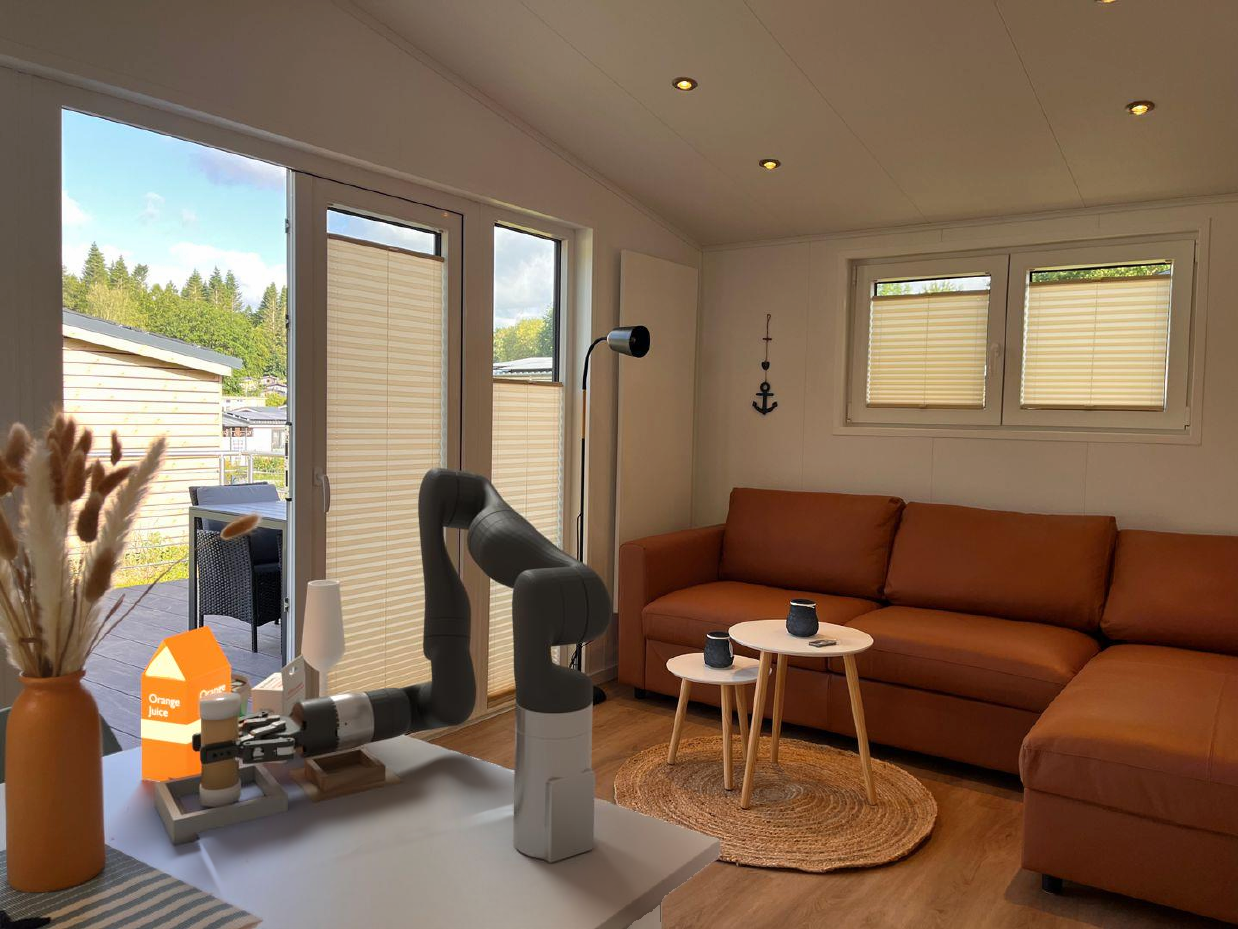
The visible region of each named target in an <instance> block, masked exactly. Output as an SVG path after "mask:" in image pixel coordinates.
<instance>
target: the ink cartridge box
mask: <svg viewBox="0 0 1238 929" xmlns="http://www.w3.org/2000/svg"><path fill="white" fill-rule="evenodd" d="M293 668H296V670H295V671H294V672H291V671H292V670H293ZM305 669H306V668H305V659H304V658H303V655H302V654H300V655H299V656H298V657H296V658H293V660H291V661H290V662H288V663H287V664H286V665H285V666H283V667H282V668H281V669H280V670H281V671H280V672H274V673H272V674H271V675H269V676H268V677H267V678H265V679H264V680H262V681H261V682H260V683H259V684H257V685H255V686H254V687H252V689H251V697H250V698H251V699H250V701H251V705H250V706H251V714H253V713H257V712H261V711H268V716H272V715H280V716H289V715H290V714H291V712H292V708H293V706H294V704H295V703H296V702H298V701H301V700H306V670H305ZM260 750H263V749H260ZM294 754H296V751H295V749H294ZM287 762H288V760H284V761H274V762H263V763H262V764H285V763H287Z"/></svg>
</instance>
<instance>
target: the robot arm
mask: <svg viewBox="0 0 1238 929" xmlns="http://www.w3.org/2000/svg"><path fill="white" fill-rule="evenodd" d="M417 502H418V503H417V512H418V515H417V516H418V527H419V540H420V542H419V544H420V554H421V555H420V556H421V562H422V572H423V574H422V575H423V583H424V586H423V587H424V616H423V639H422V649H423V650H422V651H423V655H424V657H425V658H426V659H427V661H430V666H431V667H430V669H431V671H430V672H431V680H429V681H425V682H422V683H416V684H413V685H408V686H407V685H406V686H404V687H386V688H378V689H374V690H367V691H362V692H361V691H359V692H345V693H338V694H337V693H336V694H332V695H327V696H325V697H319V696H318V697H314V698H307V699H305V700H301V701H298V702H296V703H295V704H294V706H293V708H292V712H291V714H290V715H289V716H280V715H272V716H268V711H261V712H257V713H253V714H252V713H251V714H247V715H246V716H243V717H239V730H241V731H240V732H239V738H237V739H235V740H234V743H233V741H232V740H229V741H224V742H217V743H212V744H206V745H202V746H201V732H200V733H195V734H194V735H193V736H192V749H193V750H194V751H195V752H199V751H200V761H201V763H202V764H209V763H214V762H219V761H224V760H229V759H233V758H234V760H238V761H239V762H240V761H242V765H245V764H253V763H262V764H264V763H263V762H274V761H284V760H287V761H291V760H293V759H294V758H295V757H294V756H295V754H297V756H298V757H299V758H301V759H306V758H311V757H316V756H321V755H326V754H331V753H336V752H340V751H345V750H350V749H355V748H359V747H362V746H363V745H367V744H371V743H372V744H373V743H377V742H381V741H385V740H386V741H387V740H390V739H394V738H397V737H400V736H403V735H404V734H411V733H418V732H419V733H420V732H425V731H432V730H439V729H443V728H449V727H455V726H459V725H462V724H463V723H465V722H467V721H468V720H469V718H470V717H471V715H472V714H473V712H474V709H475V707H476V702H477V701H476V700H477V683H476V675H475V669H474V662H473V658H472V655H471V639H472V638H471V634H472V632H471V631H472V607H471V606H472V605H471V600H470V597H469V593H468V592H467V590H466V587H465V585H464V583H463V581H462V578H461V577H460V576H459V573H458V571H457V570H456V568H455V566H454V564H453V562H452V559H451V557H450V555H449V553H448V549H447V545H446V542H445V532H444V529H445V528H449V529H457V530H466V531H467V535H466V546H467V550H468V553H469V555H470V557H471V558H472V560H473V561H474V562H475V564H477V566H478V567H479V568H480V569H481V570H482V572H483V573H484V574H486V576H488V578H490V579H491V580H492V581H494V582H495V583H498V584H500V585H502V586H505V587H508V588H510V589H512V598H511V600H512V601H511V613H512V614H511V619H512V623H511V624H512V636H513V637H512V640H513V641H512V642H513V644H512V646H513V675H514V683H515V684H514V685H515V717H514V718H515V720H514V721H515V722H514V723H515V725H514V726H515V727H514V767H513V768H514V773H513V774H514V775H513V776H514V777H513V782H514V783H513V837H512V838H513V839H512V842H513V846H514V847H515V849H516V850H518V851H519V852H520V853H522V854H524V855H526V856H528V857H532V858H537V859H543V860H545V861H546V862H547V863H554V862H557V861H561V860H564V859H566V858H570V857H574V856H576V855H579V854H582V853H585V852H588V851H591V850H594V842H595V840H594V839H595V838H594V836H595V834H594V833H595V793H596V792H595V789H596V788H595V787H596V786H595V785H596V784H595V783H596V773H595V771H594V770H593V769H592V750H593V749H592V748H593V747H592V746H593V745H592V744H593V707H594V706H593V703H594V702H593V701H594V700H593V699H594V693H593V692H594V686H593V680H592V679H591V677H590V676H589V675H588V674H586V673H585V672H583V671H580V670H578V669H574V668H571V667H568V666H562V665H561V664H560V665H559V664H557V663H555V662H553V658H552V657H553V656H552V647H560V646H561V647H562V646H571V645H579V644H584V643H589V642H593V641H594V640H596V639H599V638H600V637H601V636H603V635H604V634H605V632H607V630H608V628H609V625H610V623H611V621H612V613H613V612H612V611H613V607H612V601H611V596H610V594H609V590H608V589H607V586H606V585H605V583H604V581H603V578H601V576H600V575H599V574H598V573H597V572H596V571H595V570H594V569H593V567H592V568H591V566H589V565H588V564H586V563H584V562H582V561H580V560H579V559H577V558H574V556H572V555H570V554H568V553H566V552H565V551H563V550H562V549H561V548H559V547H558V546H557V545H555V543H553V542H552V541H551V540H550V539H549V538H547V537H546V536H544V535H543V533H541V532H540V531H539V530H537V528H535V527H534V525H533V524H532V523H530V521H528V520H527V518H525V517H524V516H522V515H521V514H520V513H519V512H518V511H516V510H515V509H514V508H513V507H511V505H510V504H509V503H507V502H506V501H505V500H504V499H503V496H501V495H500V493H499V492H498V490H497V488H496V487H495V486H494V485H493V484H492V482H491V481H490V480H489V479H488V478H487V477H485V475H482V474H479V473H474V472H470V471H469V472H468V471H464V470H457V469H451V468H445V467H431V468H430V469H429V470H428V471H427V472H425V474H424V476H423V478H422V481H421V484H420V487H419V491H418V500H417ZM241 723H242V724H241ZM260 749H263V750H260ZM294 749H295V751H296V752H295V753H294Z"/></svg>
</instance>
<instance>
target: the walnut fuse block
mask: <svg viewBox="0 0 1238 929" xmlns="http://www.w3.org/2000/svg"><path fill="white" fill-rule="evenodd" d="M287 773H288V774H289V775H290V776H291V778H293V780H294V781H295V782H296V783H297V785H298V786H299V787H300V788H301V789H302V790H303V792H304V793H305V794H306V795H307V796H308V797H309V799H310V800H311V802H313V803H314V804H315V803H320V802H324V801H325V802H326V801H328V800H332V799H333V800H334V799H337V798H341V797H344V796H349V795H350V796H351V795H354V794H358V793H363V792H367V791H371V790H376V789H380V788H385V787H388V786H393V785H396V784H401V783H404V781H403V780H402V779H401V778H399V777H398V775H396V774H395V773H394V772H393V771H391V769H389V767H387V766H386V765H385V764H384V763H383V762H382V761H381V760H380V759H378V758H377V757H376V756H375V755H374V754H373V753H371V752H370V751H369V750H368V749H367V748H366V747H365V746H359V747H355V748H352V749H347V750H343V751H338V752H333V753H328V754H323V755H319V756H314V757H309V758H304V767H303V768H302V767H301V768H297V769H292V770H288V771H287Z"/></svg>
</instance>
